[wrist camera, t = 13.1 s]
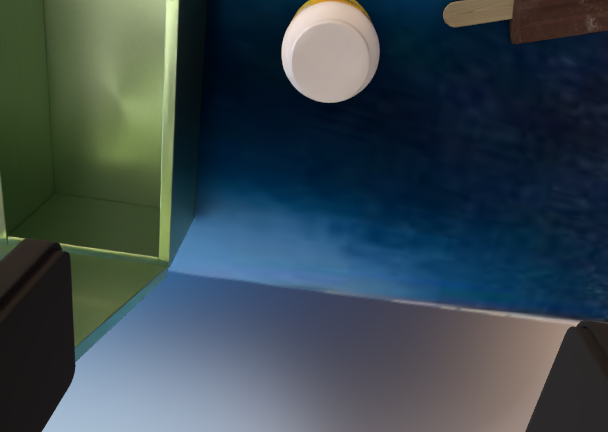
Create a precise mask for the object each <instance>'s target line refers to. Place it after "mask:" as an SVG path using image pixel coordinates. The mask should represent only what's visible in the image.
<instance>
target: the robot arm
mask: <svg viewBox="0 0 608 432" xmlns="http://www.w3.org/2000/svg"><path fill="white" fill-rule="evenodd" d="M74 372H75V345H74V322H73V300H72V278H71V259H70V254H69V253H68V252H66V251H62V248H61V245H60V244H59V243H58V242H52V241H45V240H38V239H32V238H25V239H24V240H22V241H21V242H20V243H19V244H18V245H17V246H16V247H15V248H14V249H13V250H12V251H10V252H9V253H8V254H7V255H6V256H5V257H4V258H3V259H2V260H1V261H0V432H42V430H43V429H44V427H45V425H46V424H47V422H48V421H49V419H50V417H51V416H52V414H53V412H54V411H55V409H56V407H57V405H58V404H59V402H60V401H61V399H62V398H63V396H64V394H65V392H66V391H67V389H68V387H69V386H70V384H71V382H72V379H73V376H74ZM526 432H608V324H605V323H599V322H592V321H585V320H584V321H581V322H580V323H579V324H578V325H577V326H576V327H570V328H569V329H568V330H567V332H566V334H565V336H564V339H563V341H562V344H561V346H560V349H559V351H558V354H557V356H556V358H555V361H554V363H553V366H552V368H551V370H550V373H549V375H548V378H547V380H546V383H545V385H544V388H543V390H542V392H541V395H540V398H539V400H538V402H537V405H536V407H535V409H534V412H533V414H532V417H531V419H530V422H529V424H528V427H527V429H526Z"/></svg>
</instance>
